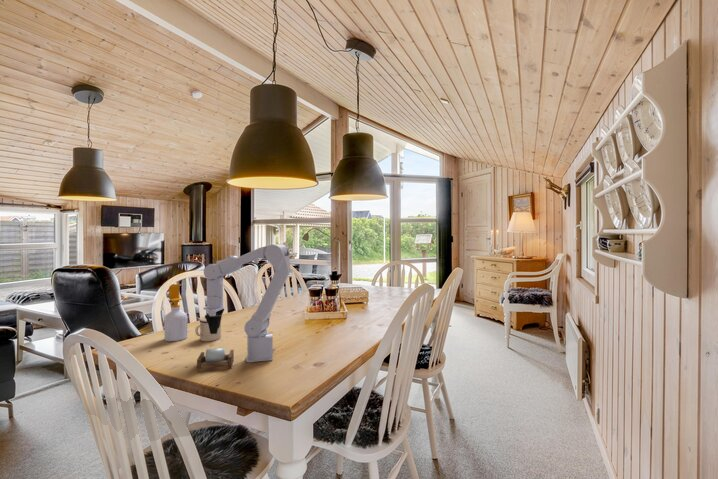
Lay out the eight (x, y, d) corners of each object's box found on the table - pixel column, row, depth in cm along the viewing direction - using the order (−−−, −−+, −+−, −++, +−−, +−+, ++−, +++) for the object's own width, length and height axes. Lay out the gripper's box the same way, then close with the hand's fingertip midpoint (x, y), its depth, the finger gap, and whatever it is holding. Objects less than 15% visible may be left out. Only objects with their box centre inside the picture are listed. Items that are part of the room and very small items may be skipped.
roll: (225, 359, 125) (225, 346, 126) (224, 364, 121) (224, 349, 121) (207, 361, 124) (207, 347, 124) (205, 365, 119) (205, 351, 119)
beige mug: (212, 334, 160) (212, 309, 160) (226, 337, 156) (225, 311, 156) (189, 341, 150) (188, 314, 150) (202, 344, 145) (202, 317, 145)
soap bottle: (167, 343, 148) (166, 286, 147) (162, 338, 155) (162, 283, 154) (189, 338, 154) (189, 284, 153) (184, 334, 160) (183, 281, 160)
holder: (233, 360, 127) (233, 349, 127) (231, 368, 120) (231, 357, 120) (201, 363, 124) (201, 352, 124) (197, 371, 117) (196, 360, 117)
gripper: (206, 292, 136) (206, 326, 137) (200, 299, 122) (200, 337, 123) (225, 291, 138) (225, 325, 139) (221, 298, 124) (221, 335, 125)
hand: (215, 330), depth 131 cm, fingers open, 7 cm apart
